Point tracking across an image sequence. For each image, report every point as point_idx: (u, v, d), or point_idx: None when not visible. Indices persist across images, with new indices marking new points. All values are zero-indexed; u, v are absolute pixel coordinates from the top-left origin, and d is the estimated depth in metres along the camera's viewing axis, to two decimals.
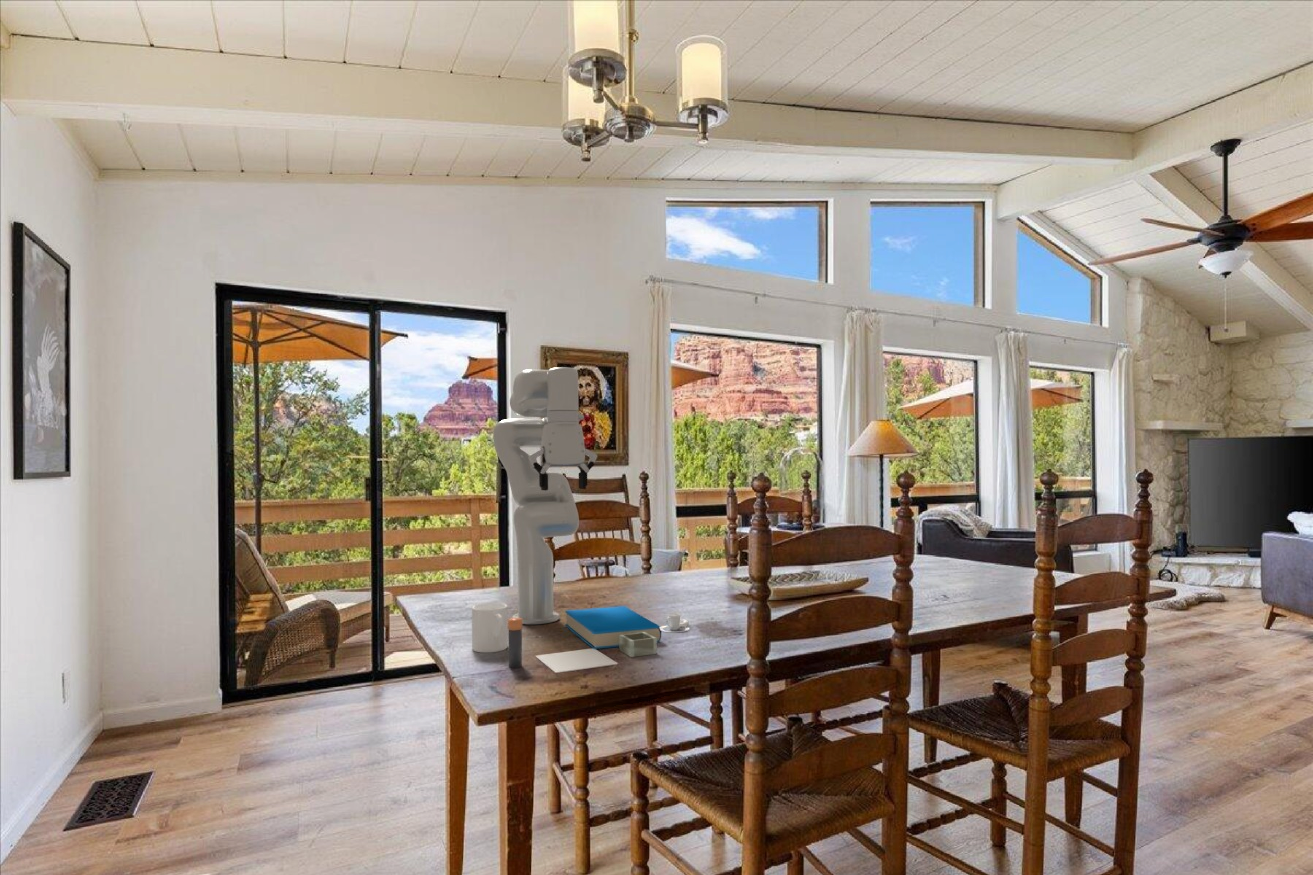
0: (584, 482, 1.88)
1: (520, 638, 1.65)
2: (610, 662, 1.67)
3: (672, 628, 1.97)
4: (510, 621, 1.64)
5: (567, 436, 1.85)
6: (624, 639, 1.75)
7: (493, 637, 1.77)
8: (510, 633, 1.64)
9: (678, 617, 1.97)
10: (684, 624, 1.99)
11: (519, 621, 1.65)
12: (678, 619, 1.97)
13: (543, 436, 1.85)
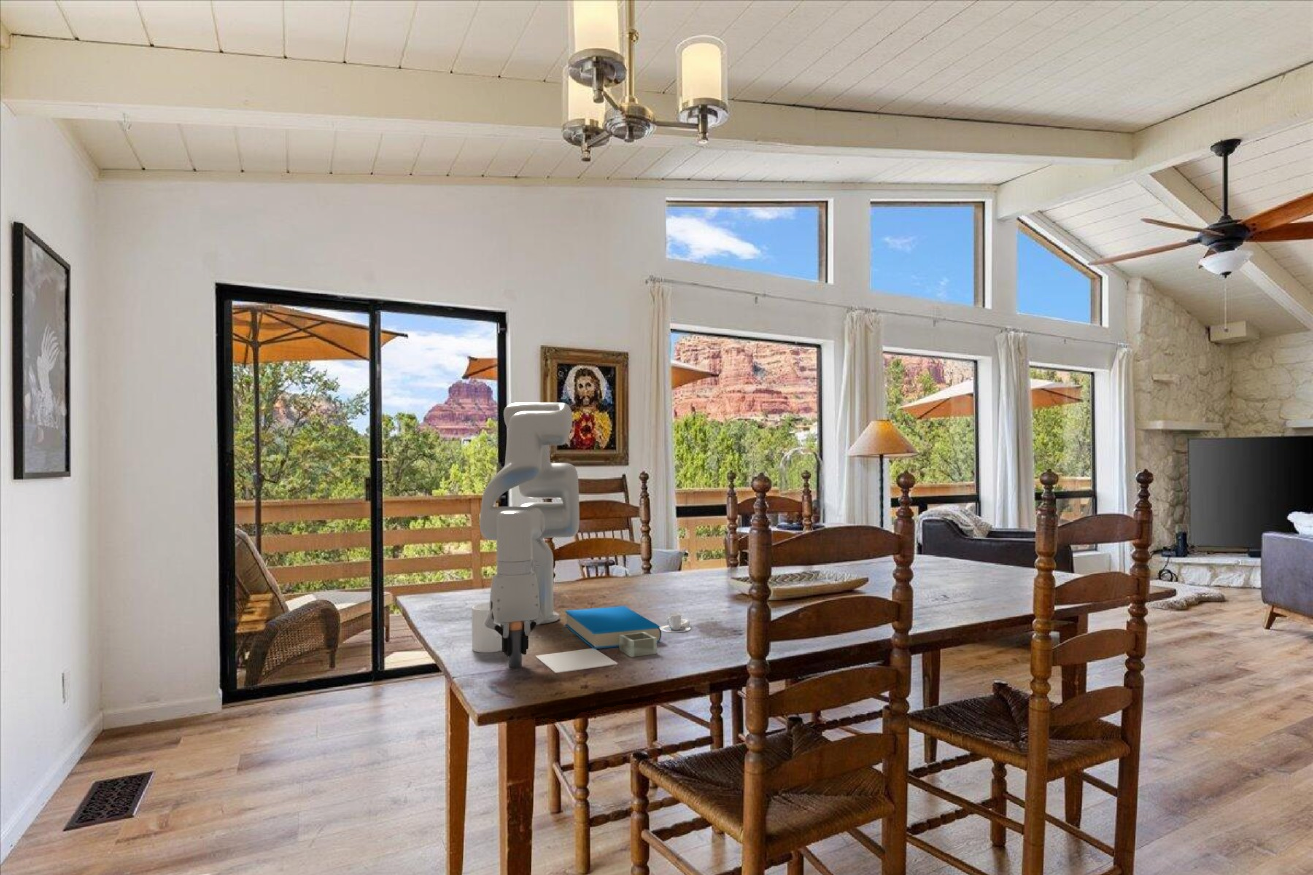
0: (524, 647, 1.65)
1: (520, 638, 1.65)
2: (610, 662, 1.67)
3: (673, 628, 1.97)
4: None
5: (519, 589, 1.64)
6: (624, 639, 1.75)
7: (493, 637, 1.77)
8: (510, 633, 1.64)
9: (679, 617, 1.97)
10: (685, 624, 1.99)
11: None
12: (679, 619, 1.97)
13: (491, 589, 1.64)
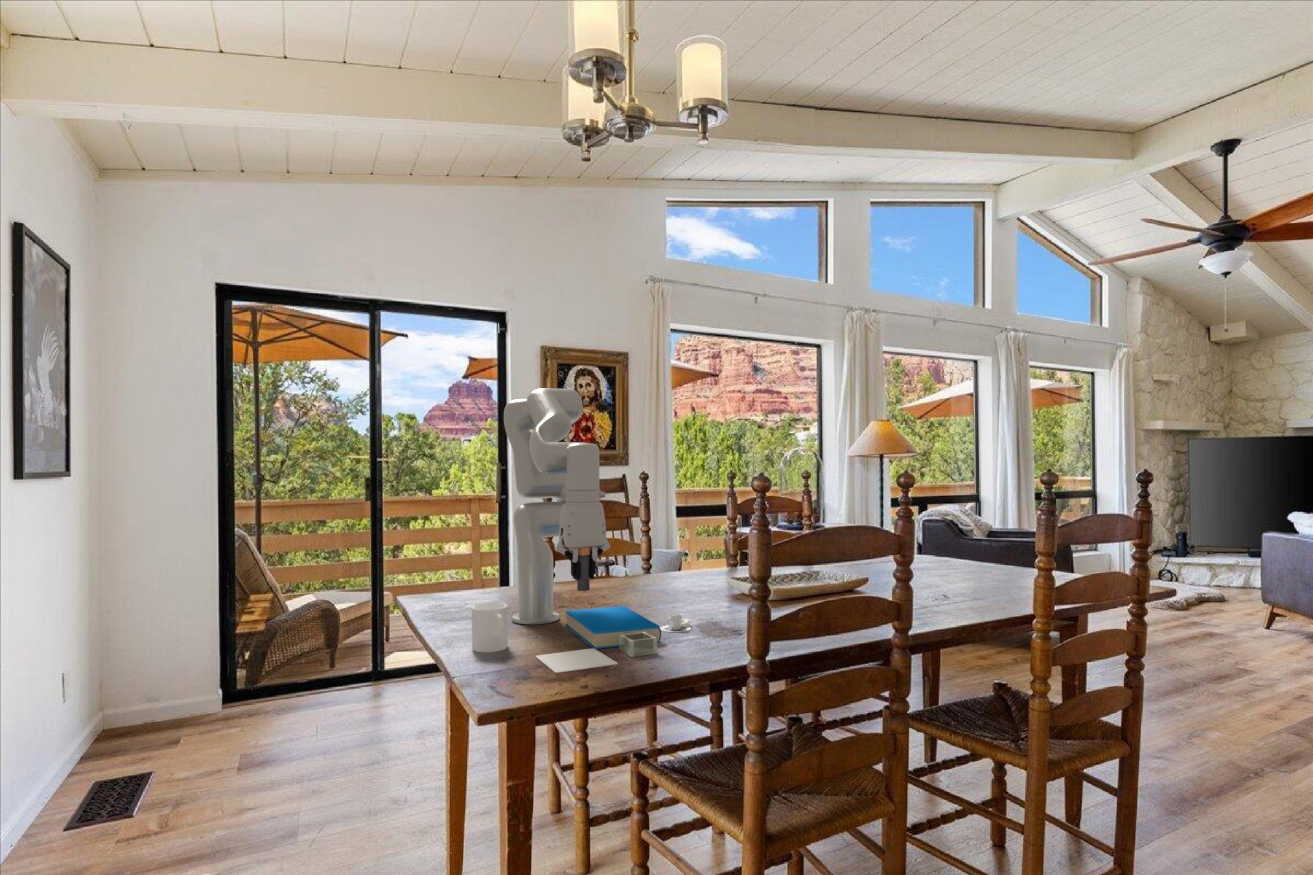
0: (592, 571, 1.75)
1: (588, 563, 1.75)
2: (610, 662, 1.67)
3: (673, 628, 1.97)
4: None
5: (587, 517, 1.74)
6: (624, 639, 1.75)
7: (493, 637, 1.77)
8: (579, 558, 1.74)
9: (679, 617, 1.97)
10: (685, 624, 1.99)
11: None
12: (679, 619, 1.97)
13: (562, 517, 1.74)
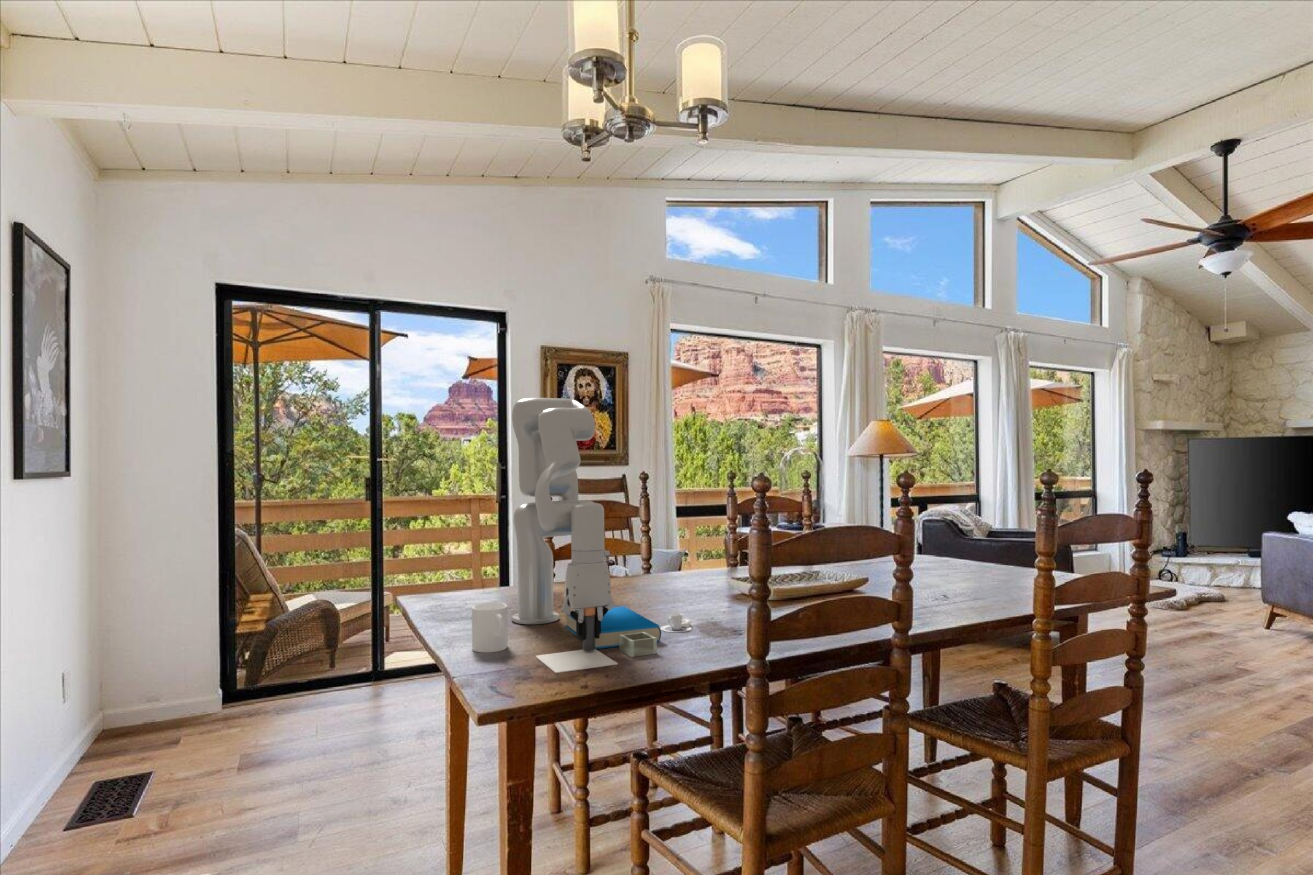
0: (597, 631, 1.75)
1: (594, 623, 1.75)
2: (610, 662, 1.67)
3: (674, 628, 1.97)
4: None
5: (593, 577, 1.74)
6: (624, 639, 1.75)
7: (493, 637, 1.77)
8: (584, 618, 1.75)
9: (680, 617, 1.97)
10: (686, 624, 1.99)
11: None
12: (680, 619, 1.97)
13: (567, 577, 1.74)
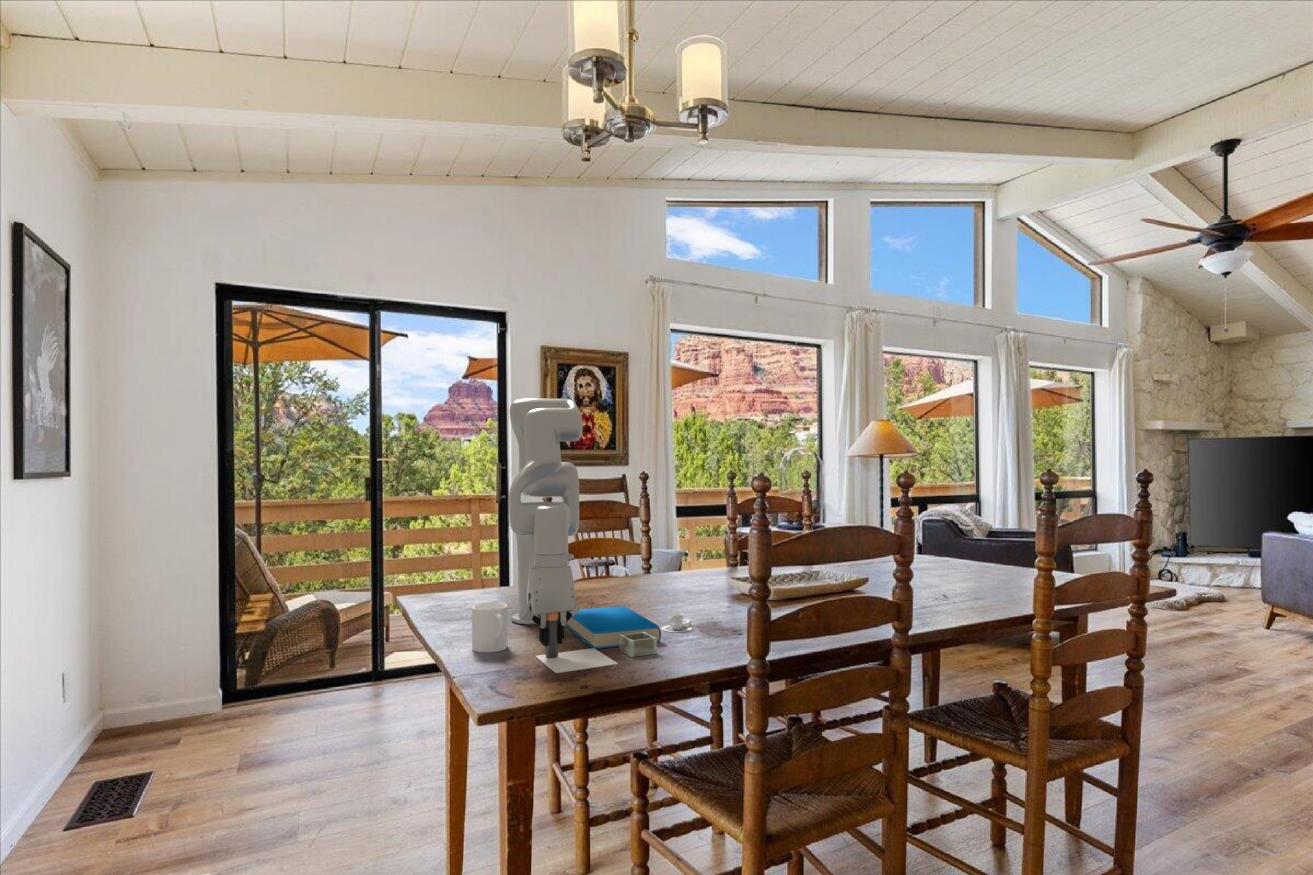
0: (561, 637, 1.71)
1: (557, 628, 1.71)
2: (610, 662, 1.67)
3: (674, 628, 1.97)
4: None
5: (555, 581, 1.70)
6: (624, 639, 1.75)
7: (493, 637, 1.77)
8: (547, 624, 1.71)
9: (680, 617, 1.97)
10: (687, 624, 1.99)
11: None
12: (680, 619, 1.97)
13: (529, 581, 1.70)
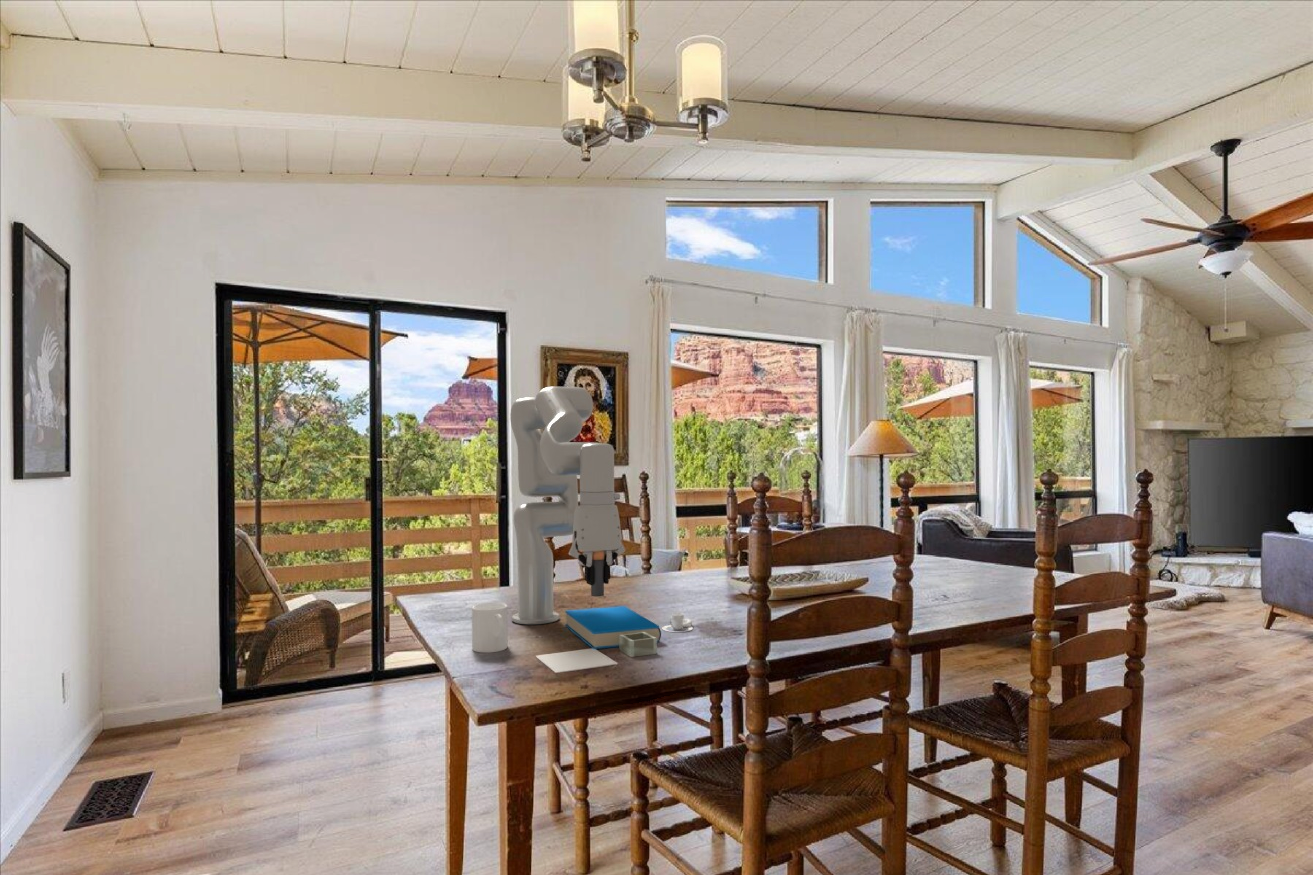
0: (607, 576, 1.69)
1: (602, 568, 1.69)
2: (610, 662, 1.67)
3: (675, 628, 1.97)
4: None
5: (602, 520, 1.68)
6: (624, 639, 1.75)
7: (493, 637, 1.77)
8: (593, 563, 1.68)
9: (681, 617, 1.97)
10: (687, 624, 1.99)
11: None
12: (681, 619, 1.97)
13: (575, 519, 1.68)
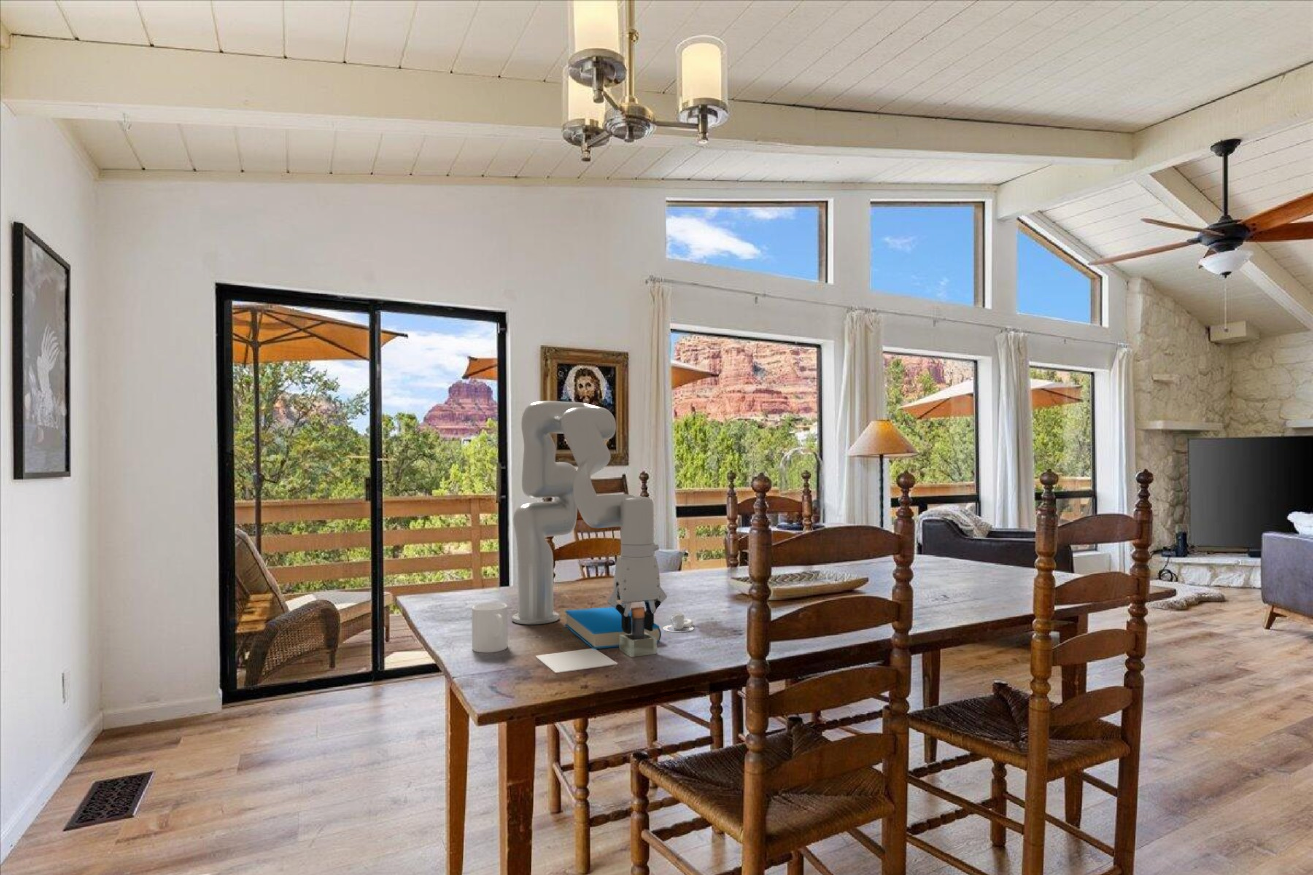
0: (651, 624, 1.76)
1: (643, 626, 1.75)
2: (610, 662, 1.67)
3: (676, 628, 1.97)
4: (634, 610, 1.75)
5: (642, 571, 1.74)
6: (624, 639, 1.75)
7: (493, 637, 1.77)
8: (634, 621, 1.75)
9: (682, 617, 1.97)
10: (688, 624, 1.99)
11: (642, 610, 1.75)
12: (682, 619, 1.97)
13: (617, 571, 1.74)
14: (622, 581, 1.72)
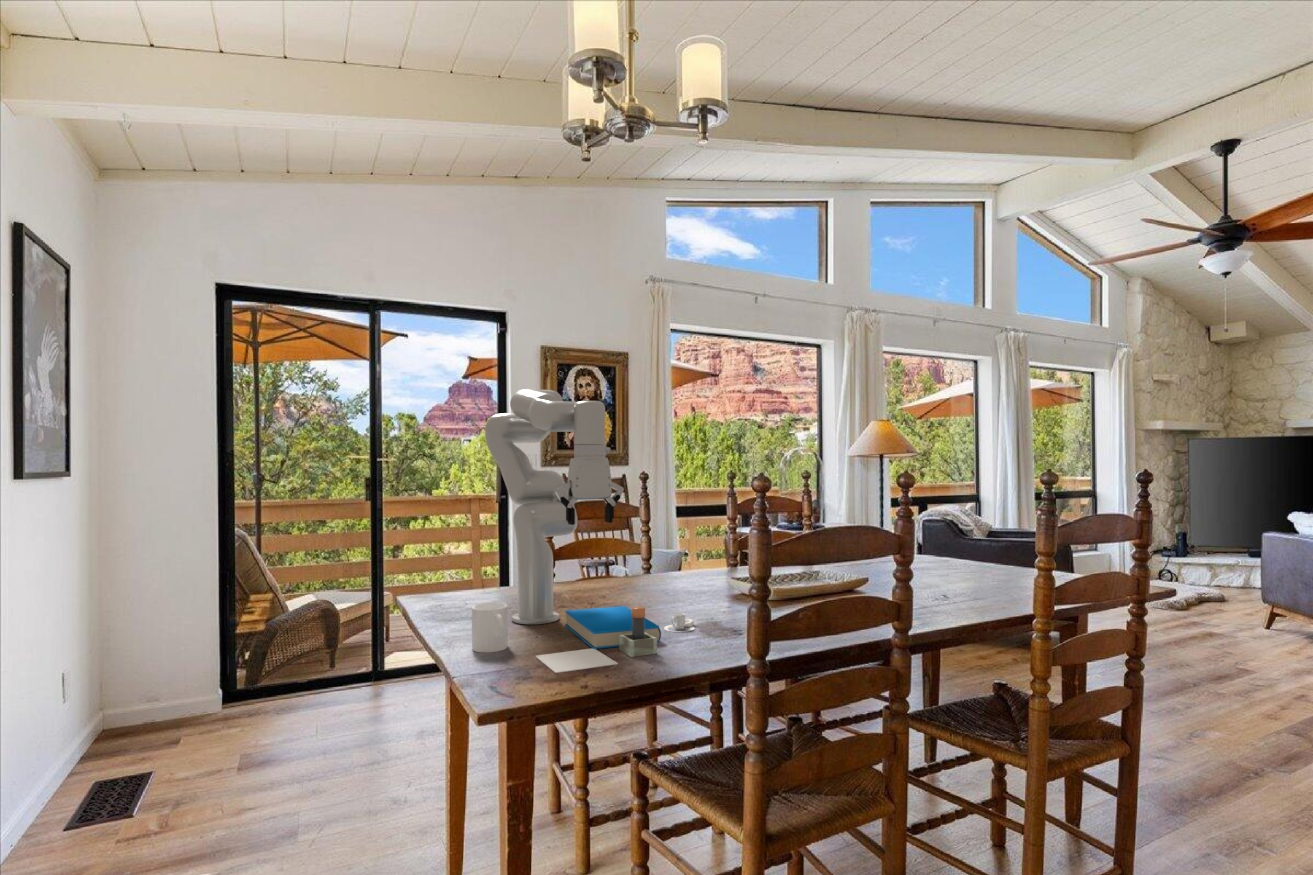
0: (611, 516, 1.87)
1: (643, 626, 1.76)
2: (610, 662, 1.67)
3: (677, 628, 1.97)
4: (634, 610, 1.75)
5: (594, 470, 1.84)
6: (624, 639, 1.75)
7: (493, 637, 1.77)
8: (634, 621, 1.75)
9: (683, 617, 1.97)
10: (689, 624, 1.99)
11: (643, 610, 1.75)
12: (683, 619, 1.97)
13: (570, 470, 1.84)
14: (574, 478, 1.83)
